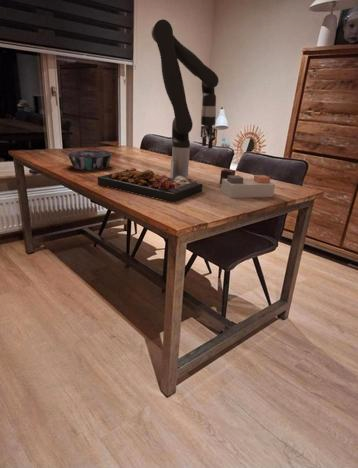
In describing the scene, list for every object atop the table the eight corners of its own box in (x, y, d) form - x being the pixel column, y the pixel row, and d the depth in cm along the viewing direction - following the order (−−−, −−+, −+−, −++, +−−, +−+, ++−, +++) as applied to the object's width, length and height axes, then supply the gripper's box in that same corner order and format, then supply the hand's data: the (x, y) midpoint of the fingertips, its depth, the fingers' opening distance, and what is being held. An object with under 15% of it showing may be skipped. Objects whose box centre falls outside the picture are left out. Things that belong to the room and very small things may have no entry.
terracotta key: (258, 186, 155) (259, 177, 153) (253, 183, 160) (254, 175, 158) (269, 186, 156) (270, 177, 154) (263, 183, 161) (264, 175, 159)
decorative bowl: (121, 170, 203) (122, 153, 199) (87, 173, 180) (88, 155, 177) (92, 164, 215) (92, 148, 212) (57, 166, 192) (56, 149, 189)
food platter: (201, 192, 158) (203, 171, 154) (173, 204, 138) (174, 180, 134) (131, 177, 180) (130, 158, 176) (98, 185, 160) (97, 164, 156)
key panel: (230, 197, 150) (232, 185, 147) (221, 190, 160) (222, 178, 158) (273, 196, 155) (275, 184, 153) (261, 190, 166) (262, 178, 164)
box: (229, 185, 171) (231, 172, 168) (219, 183, 174) (220, 170, 171) (234, 183, 176) (235, 170, 173) (224, 181, 179) (225, 168, 176)
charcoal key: (231, 186, 151) (232, 178, 149) (226, 183, 156) (227, 175, 154) (242, 186, 152) (243, 178, 151) (237, 183, 157) (238, 175, 156)
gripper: (196, 114, 175) (195, 145, 181) (207, 116, 162) (205, 149, 169) (209, 114, 177) (208, 145, 184) (220, 116, 165) (218, 148, 171)
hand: (207, 147), depth 176 cm, fingers open, 8 cm apart
